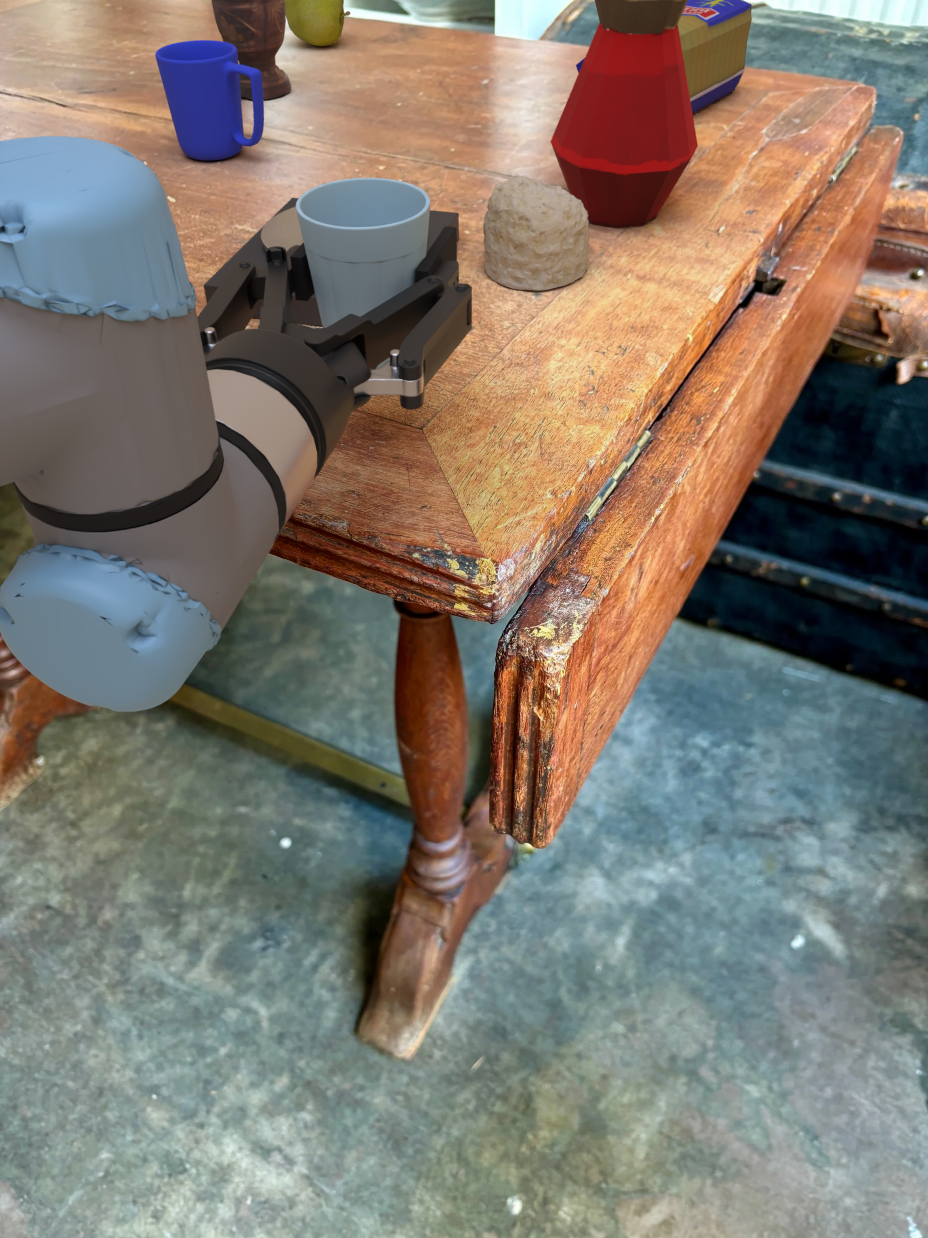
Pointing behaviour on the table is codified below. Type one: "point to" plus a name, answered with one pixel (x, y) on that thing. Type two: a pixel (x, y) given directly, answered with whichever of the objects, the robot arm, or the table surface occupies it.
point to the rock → (535, 235)
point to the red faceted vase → (628, 115)
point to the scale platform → (282, 230)
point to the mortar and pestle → (255, 40)
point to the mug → (209, 97)
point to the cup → (362, 242)
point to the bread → (712, 47)
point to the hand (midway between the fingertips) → (392, 242)
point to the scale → (309, 309)
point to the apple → (316, 20)
